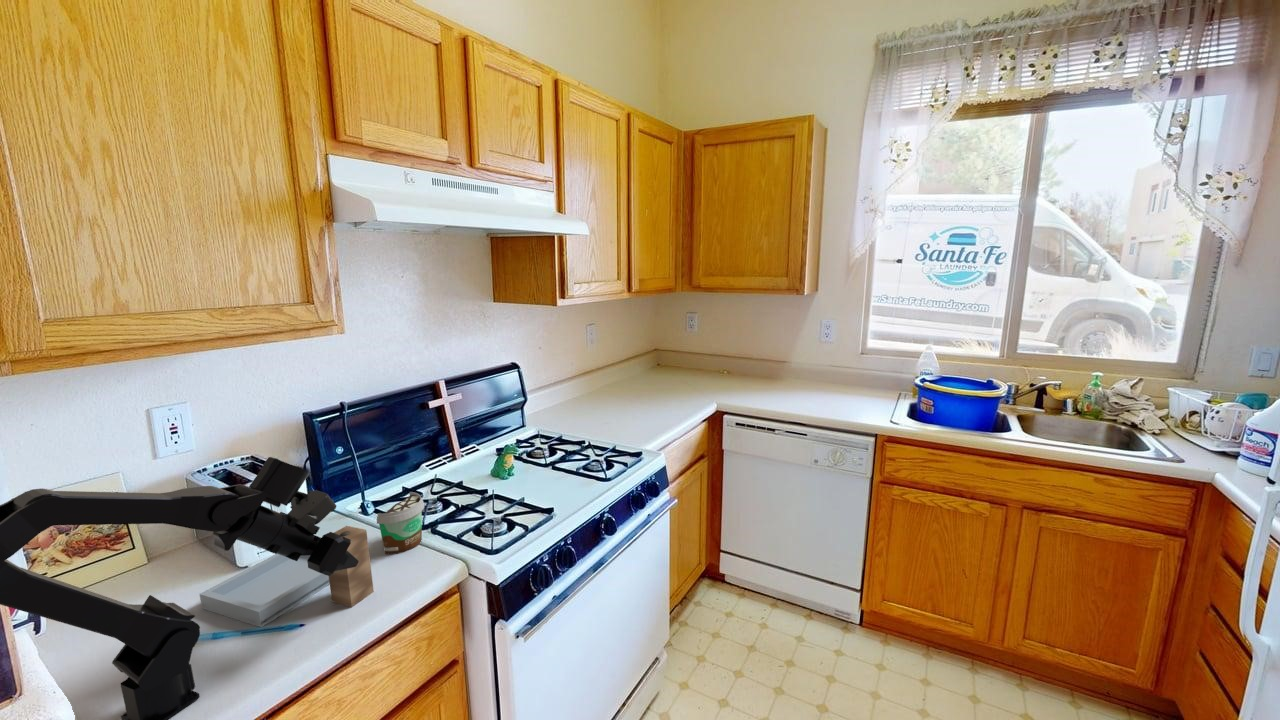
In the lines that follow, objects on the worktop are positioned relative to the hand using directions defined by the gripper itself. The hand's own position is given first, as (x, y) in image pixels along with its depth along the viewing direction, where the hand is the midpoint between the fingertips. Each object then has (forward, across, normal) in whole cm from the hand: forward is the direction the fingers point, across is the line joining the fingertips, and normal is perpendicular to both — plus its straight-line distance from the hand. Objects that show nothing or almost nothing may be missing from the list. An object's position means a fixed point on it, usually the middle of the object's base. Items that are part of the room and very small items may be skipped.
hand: (341, 557), depth 99 cm
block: (+7, 0, +5) cm, 9 cm away
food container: (+20, +7, -7) cm, 22 cm away
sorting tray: (+4, +16, +8) cm, 18 cm away
